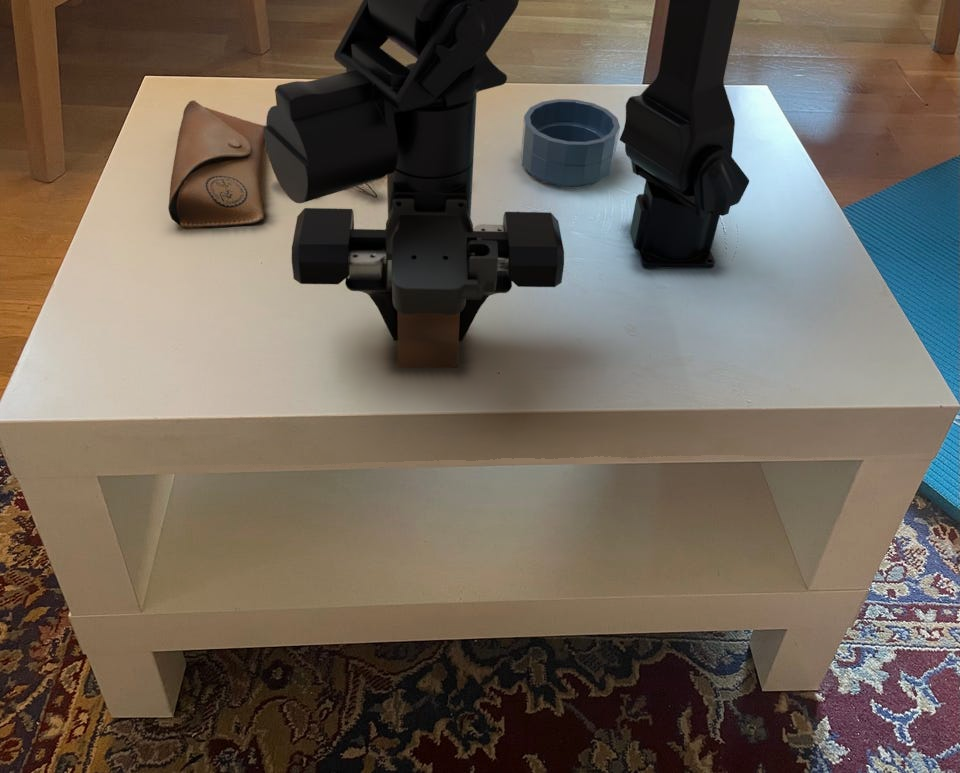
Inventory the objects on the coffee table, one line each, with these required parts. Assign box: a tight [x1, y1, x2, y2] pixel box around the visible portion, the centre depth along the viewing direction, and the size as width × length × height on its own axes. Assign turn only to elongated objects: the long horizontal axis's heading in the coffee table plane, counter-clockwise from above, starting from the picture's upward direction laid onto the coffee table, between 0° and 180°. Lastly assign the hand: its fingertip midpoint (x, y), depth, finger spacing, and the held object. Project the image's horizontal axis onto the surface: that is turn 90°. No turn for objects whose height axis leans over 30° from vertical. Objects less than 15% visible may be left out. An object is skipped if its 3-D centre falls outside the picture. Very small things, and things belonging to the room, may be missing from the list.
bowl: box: [520, 98, 621, 189], centre depth 92 cm, size 9×9×5 cm
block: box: [397, 312, 460, 368], centre depth 70 cm, size 4×4×6 cm
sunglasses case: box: [167, 100, 266, 229], centre depth 88 cm, size 18×7×7 cm
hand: (427, 337), depth 72 cm, fingers closed on block, 4 cm apart
